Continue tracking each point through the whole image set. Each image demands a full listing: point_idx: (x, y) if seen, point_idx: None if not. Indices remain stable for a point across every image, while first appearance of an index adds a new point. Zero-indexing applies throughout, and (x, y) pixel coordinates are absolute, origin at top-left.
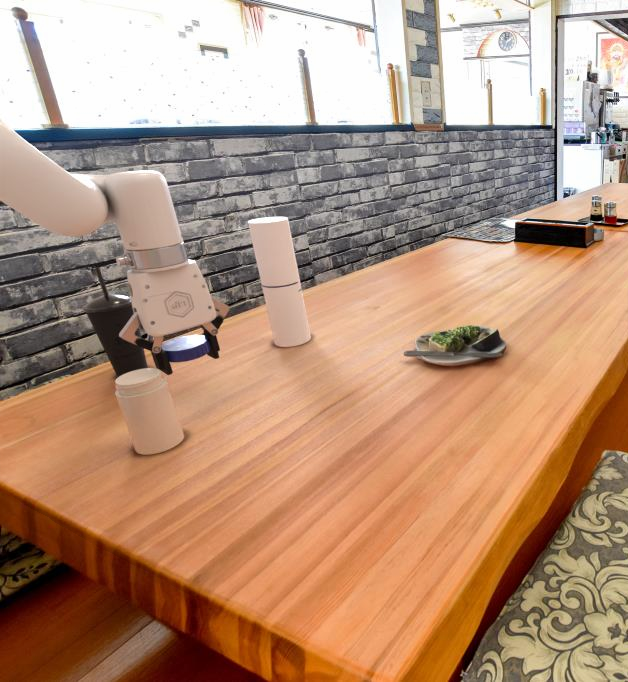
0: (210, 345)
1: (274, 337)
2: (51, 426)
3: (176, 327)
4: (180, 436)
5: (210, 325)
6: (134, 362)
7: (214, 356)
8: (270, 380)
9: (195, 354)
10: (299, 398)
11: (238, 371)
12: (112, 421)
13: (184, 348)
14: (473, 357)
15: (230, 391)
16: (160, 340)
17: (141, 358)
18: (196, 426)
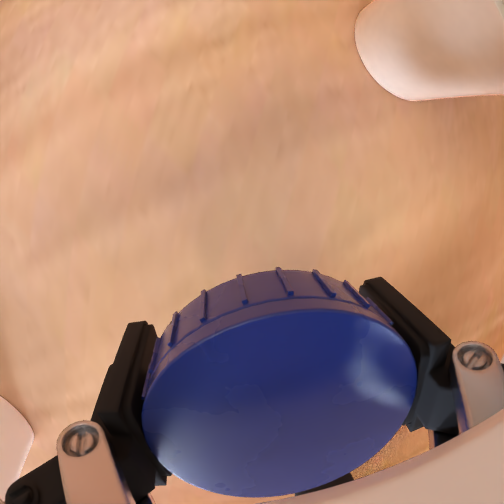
0: (142, 379)
1: (22, 438)
2: (487, 327)
3: (456, 488)
4: (370, 2)
5: (80, 488)
6: (326, 484)
7: (148, 327)
8: (36, 223)
9: (262, 283)
10: (25, 30)
11: (111, 361)
12: (443, 272)
13: (333, 335)
14: None
15: (155, 231)
16: (480, 402)
17: (310, 492)
18: (315, 51)
